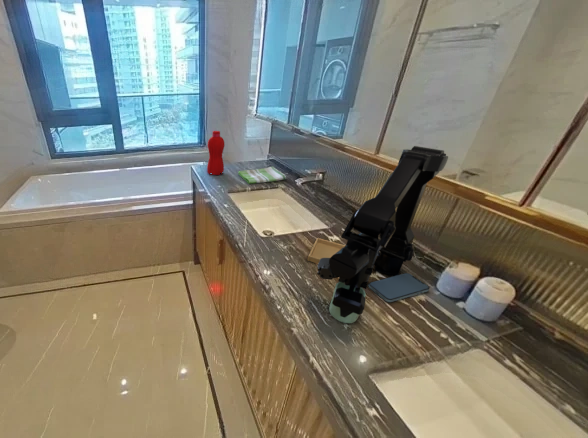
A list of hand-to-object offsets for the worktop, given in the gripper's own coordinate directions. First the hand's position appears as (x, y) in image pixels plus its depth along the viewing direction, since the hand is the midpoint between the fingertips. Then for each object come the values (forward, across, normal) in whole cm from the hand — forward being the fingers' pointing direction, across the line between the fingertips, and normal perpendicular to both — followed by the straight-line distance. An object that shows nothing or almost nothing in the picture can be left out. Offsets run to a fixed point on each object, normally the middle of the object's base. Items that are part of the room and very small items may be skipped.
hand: (344, 307), depth 74 cm
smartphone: (+2, -18, +12) cm, 22 cm away
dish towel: (+2, -86, -56) cm, 103 cm away
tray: (+2, -25, -6) cm, 26 cm away
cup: (+2, 0, 0) cm, 2 cm away
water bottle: (+2, -80, -83) cm, 115 cm away
